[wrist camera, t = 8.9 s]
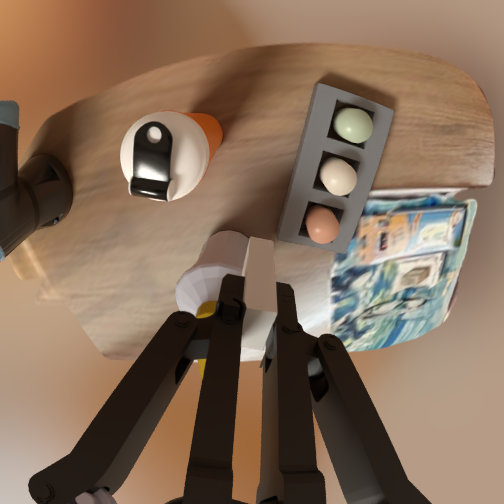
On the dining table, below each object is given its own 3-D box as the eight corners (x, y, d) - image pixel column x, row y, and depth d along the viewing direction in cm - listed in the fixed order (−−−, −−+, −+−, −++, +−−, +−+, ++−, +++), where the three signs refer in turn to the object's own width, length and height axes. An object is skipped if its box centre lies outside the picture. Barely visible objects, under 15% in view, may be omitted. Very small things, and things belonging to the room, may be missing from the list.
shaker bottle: (230, 107, 36) (200, 110, 19) (228, 163, 41) (201, 214, 23) (172, 108, 36) (103, 119, 19) (172, 162, 41) (112, 211, 23)
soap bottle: (196, 277, 52) (163, 387, 31) (193, 215, 45) (139, 320, 24) (263, 281, 52) (261, 398, 31) (269, 220, 45) (273, 333, 24)
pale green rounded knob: (329, 133, 36) (335, 136, 33) (336, 103, 34) (344, 104, 30) (358, 142, 36) (367, 147, 33) (366, 114, 34) (376, 115, 30)
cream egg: (315, 182, 40) (320, 190, 37) (323, 153, 38) (329, 158, 34) (343, 190, 40) (350, 199, 37) (352, 162, 38) (361, 168, 35)
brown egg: (301, 228, 44) (304, 240, 41) (309, 201, 42) (313, 211, 38) (328, 234, 45) (333, 246, 41) (337, 208, 42) (343, 218, 39)
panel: (276, 231, 46) (277, 239, 44) (314, 84, 33) (318, 82, 31) (341, 245, 47) (345, 254, 44) (386, 109, 34) (394, 110, 32)
